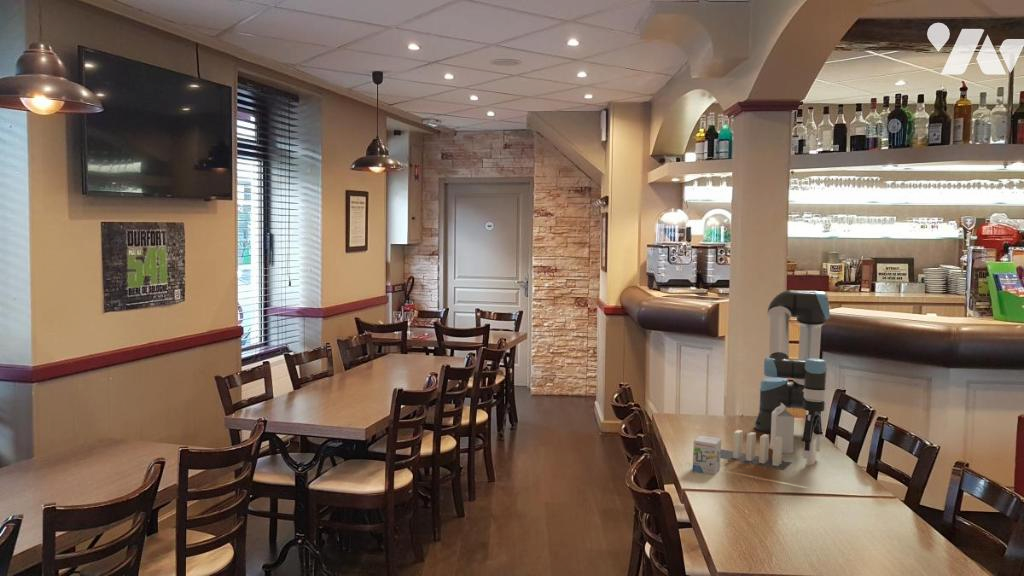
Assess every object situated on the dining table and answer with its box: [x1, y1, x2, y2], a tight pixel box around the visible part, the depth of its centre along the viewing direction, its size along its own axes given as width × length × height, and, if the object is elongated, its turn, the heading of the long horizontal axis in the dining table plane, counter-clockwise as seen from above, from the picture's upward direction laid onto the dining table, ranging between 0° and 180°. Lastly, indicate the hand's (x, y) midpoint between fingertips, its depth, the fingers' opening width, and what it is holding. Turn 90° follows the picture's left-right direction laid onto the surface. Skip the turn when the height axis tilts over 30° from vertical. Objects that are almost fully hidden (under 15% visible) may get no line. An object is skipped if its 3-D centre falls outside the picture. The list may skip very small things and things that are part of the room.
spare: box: [806, 436, 817, 466], centre depth 276 cm, size 5×2×10 cm, turn 144°
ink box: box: [691, 435, 722, 476], centre depth 266 cm, size 8×8×12 cm
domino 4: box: [772, 436, 783, 466], centre depth 274 cm, size 5×2×10 cm, turn 144°
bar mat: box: [720, 448, 793, 471], centre depth 280 cm, size 12×28×1 cm, turn 55°
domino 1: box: [732, 429, 744, 459], centre depth 283 cm, size 5×2×10 cm, turn 145°
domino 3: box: [758, 433, 770, 463], centre depth 277 cm, size 5×2×10 cm, turn 145°
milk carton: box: [769, 403, 795, 454], centre depth 293 cm, size 7×7×19 cm
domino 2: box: [745, 431, 757, 461], centre depth 280 cm, size 5×2×10 cm, turn 145°
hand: (811, 454), depth 276 cm, fingers open, 13 cm apart
